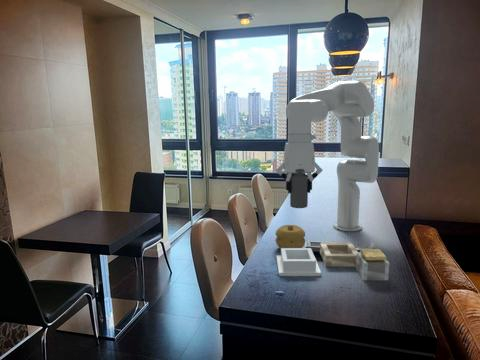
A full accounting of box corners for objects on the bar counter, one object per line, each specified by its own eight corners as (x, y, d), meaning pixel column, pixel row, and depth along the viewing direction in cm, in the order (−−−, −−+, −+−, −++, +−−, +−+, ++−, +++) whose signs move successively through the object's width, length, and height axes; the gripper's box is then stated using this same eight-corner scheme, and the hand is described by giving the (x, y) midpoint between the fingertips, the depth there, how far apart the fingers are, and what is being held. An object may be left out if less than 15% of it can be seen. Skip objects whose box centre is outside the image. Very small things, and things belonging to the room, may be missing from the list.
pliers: (372, 240, 144) (377, 254, 130) (372, 243, 145) (376, 258, 130) (347, 238, 147) (349, 252, 133) (347, 242, 147) (349, 256, 133)
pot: (297, 257, 133) (298, 232, 130) (270, 251, 139) (270, 227, 137) (309, 246, 142) (310, 223, 140) (283, 241, 148) (283, 218, 146)
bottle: (306, 203, 123) (306, 161, 120) (308, 208, 117) (309, 164, 114) (289, 203, 123) (289, 161, 120) (291, 208, 118) (291, 164, 114)
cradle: (276, 258, 132) (276, 246, 131) (314, 258, 131) (314, 246, 130) (279, 276, 118) (279, 263, 117) (321, 276, 118) (321, 262, 117)
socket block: (319, 252, 136) (320, 238, 135) (366, 252, 135) (367, 237, 134) (332, 280, 115) (332, 263, 113) (388, 280, 114) (389, 263, 113)
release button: (359, 265, 121) (360, 249, 120) (378, 265, 120) (379, 248, 119) (365, 274, 114) (366, 256, 113) (385, 274, 114) (386, 256, 113)
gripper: (323, 137, 119) (322, 189, 123) (272, 138, 120) (272, 189, 123) (328, 139, 111) (326, 194, 115) (273, 140, 112) (274, 195, 116)
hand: (298, 191), depth 119 cm, fingers closed on bottle, 5 cm apart
